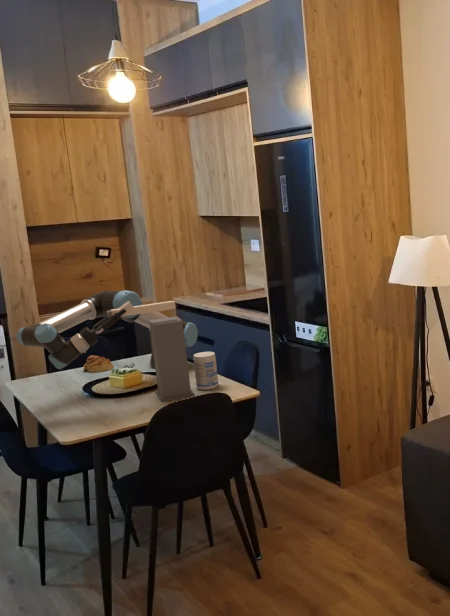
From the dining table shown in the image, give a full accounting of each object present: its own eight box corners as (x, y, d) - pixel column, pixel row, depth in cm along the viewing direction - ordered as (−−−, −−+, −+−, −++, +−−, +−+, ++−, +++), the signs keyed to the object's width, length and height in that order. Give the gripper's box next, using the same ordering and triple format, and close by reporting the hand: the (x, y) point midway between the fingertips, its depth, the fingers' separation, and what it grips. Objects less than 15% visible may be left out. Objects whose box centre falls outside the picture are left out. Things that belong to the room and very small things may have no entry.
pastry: (82, 369, 334) (80, 354, 333) (111, 364, 339) (109, 349, 337) (85, 375, 322) (83, 359, 320) (115, 370, 326) (113, 354, 325)
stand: (155, 392, 279) (146, 320, 274) (187, 387, 283) (178, 315, 277) (161, 401, 266) (151, 326, 260) (194, 395, 269) (185, 320, 264)
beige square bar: (107, 317, 263) (106, 310, 263) (174, 307, 270) (173, 300, 270) (108, 318, 261) (107, 311, 260) (175, 308, 267) (174, 301, 267)
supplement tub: (211, 391, 273) (207, 357, 271) (192, 389, 278) (188, 356, 275) (222, 384, 281) (219, 351, 279) (204, 383, 286) (200, 350, 284)
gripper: (89, 343, 269) (134, 308, 272) (91, 350, 254) (139, 314, 257) (77, 329, 267) (123, 294, 270) (79, 336, 252) (127, 299, 255)
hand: (131, 304), depth 264 cm, fingers closed on beige square bar, 3 cm apart
